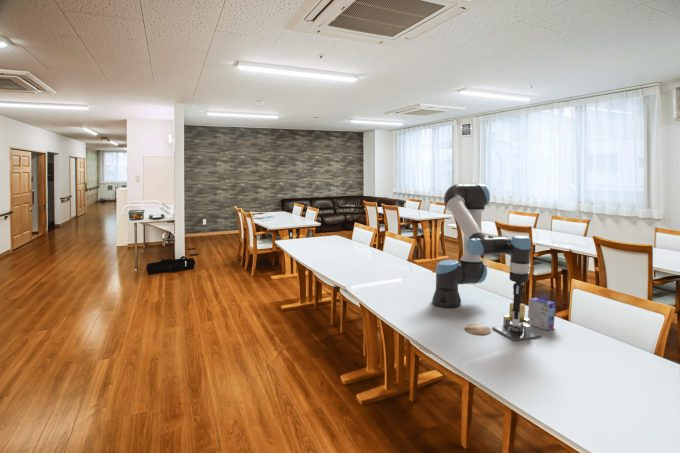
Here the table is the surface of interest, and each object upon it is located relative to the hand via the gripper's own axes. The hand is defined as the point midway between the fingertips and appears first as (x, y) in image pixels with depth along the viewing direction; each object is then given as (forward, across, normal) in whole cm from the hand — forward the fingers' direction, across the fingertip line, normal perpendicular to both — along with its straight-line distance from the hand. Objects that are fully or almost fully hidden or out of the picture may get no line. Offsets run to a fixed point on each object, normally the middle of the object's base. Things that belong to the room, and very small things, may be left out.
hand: (516, 322), depth 169 cm
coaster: (+5, -5, +15) cm, 17 cm away
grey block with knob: (+5, 0, 0) cm, 5 cm away
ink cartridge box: (+5, +13, -9) cm, 17 cm away
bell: (-1, 0, 0) cm, 1 cm away
